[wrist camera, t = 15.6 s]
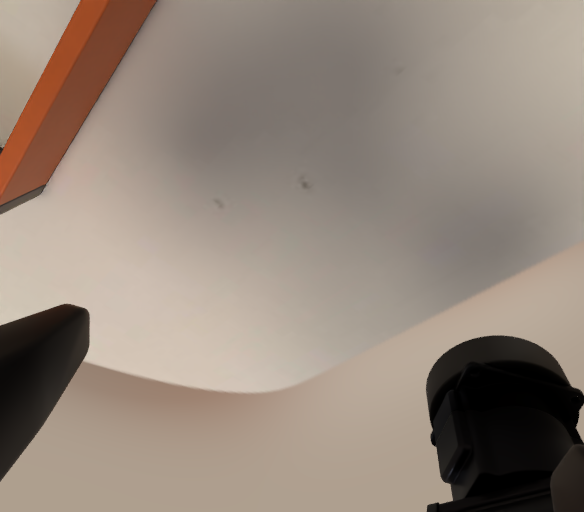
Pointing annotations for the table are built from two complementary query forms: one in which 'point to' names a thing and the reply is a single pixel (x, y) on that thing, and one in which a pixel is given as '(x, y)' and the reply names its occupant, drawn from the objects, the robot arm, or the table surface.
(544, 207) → the table surface
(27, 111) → the square frame
